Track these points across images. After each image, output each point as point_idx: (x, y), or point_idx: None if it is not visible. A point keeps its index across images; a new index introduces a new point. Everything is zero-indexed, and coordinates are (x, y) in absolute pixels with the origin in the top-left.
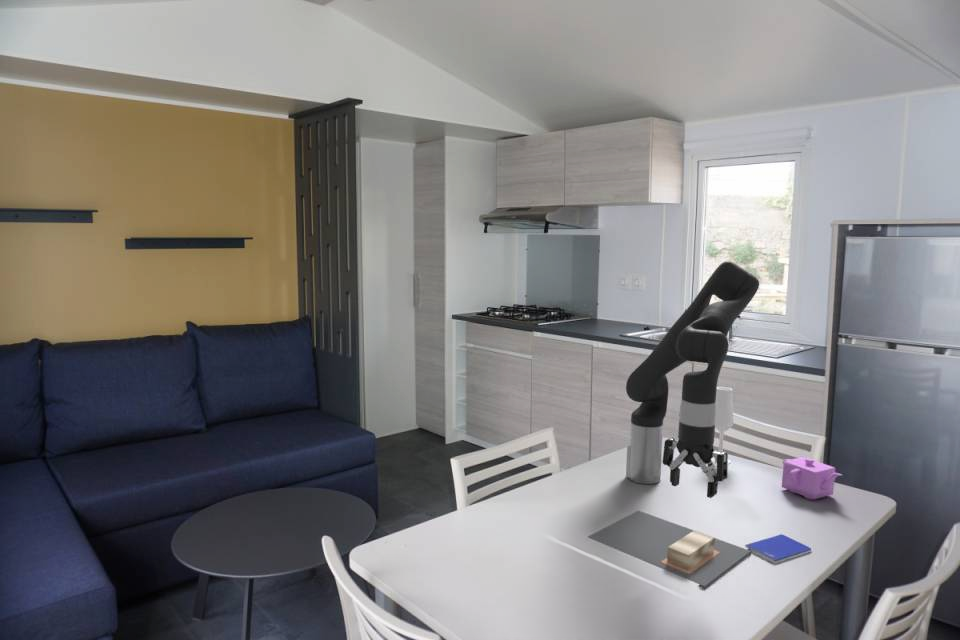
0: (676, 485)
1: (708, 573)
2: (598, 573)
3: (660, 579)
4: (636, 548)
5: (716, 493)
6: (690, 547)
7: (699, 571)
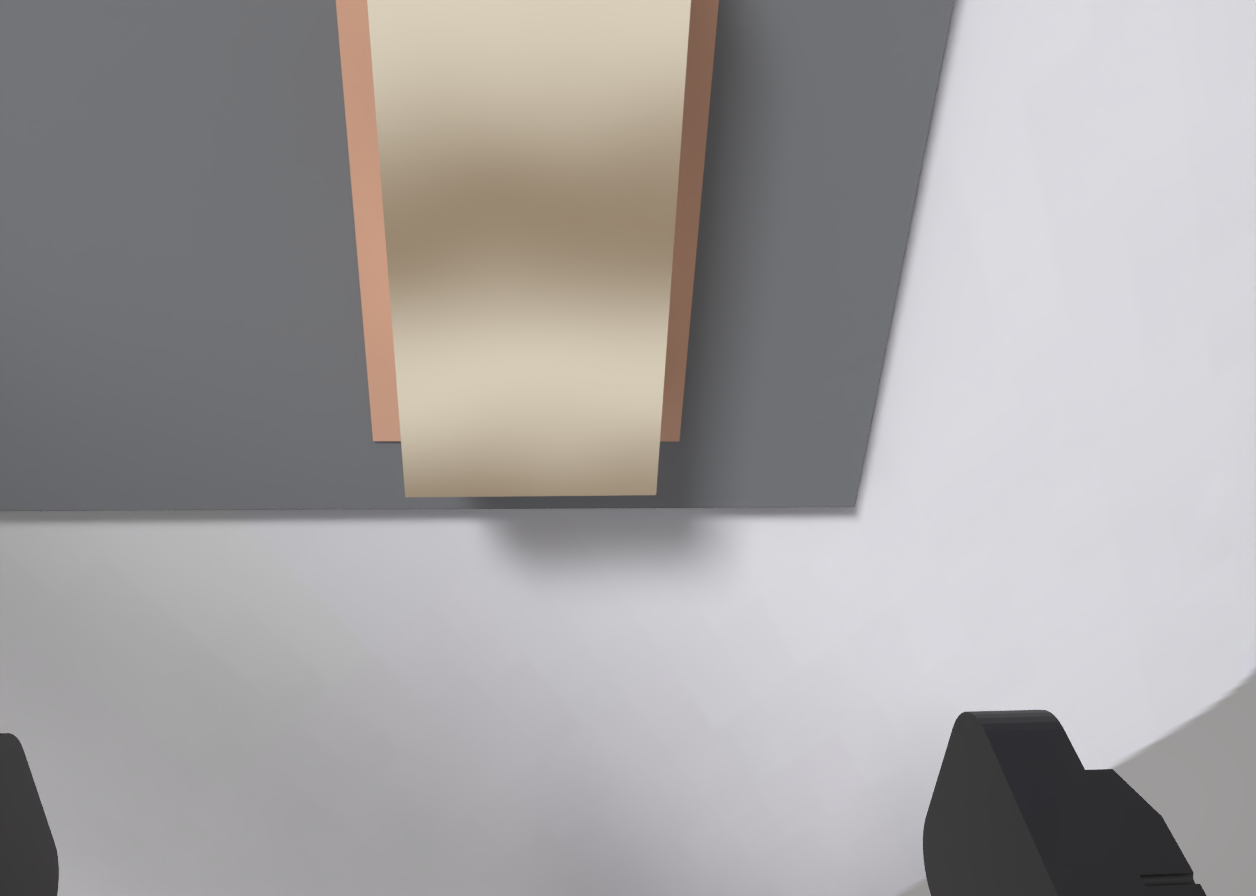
0: (41, 814)
1: (807, 309)
2: (154, 803)
3: (518, 597)
4: (27, 375)
5: (1137, 803)
6: (588, 341)
7: (726, 334)
